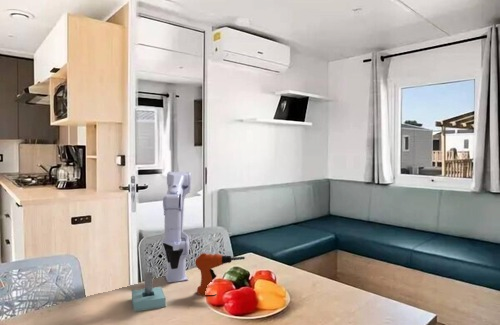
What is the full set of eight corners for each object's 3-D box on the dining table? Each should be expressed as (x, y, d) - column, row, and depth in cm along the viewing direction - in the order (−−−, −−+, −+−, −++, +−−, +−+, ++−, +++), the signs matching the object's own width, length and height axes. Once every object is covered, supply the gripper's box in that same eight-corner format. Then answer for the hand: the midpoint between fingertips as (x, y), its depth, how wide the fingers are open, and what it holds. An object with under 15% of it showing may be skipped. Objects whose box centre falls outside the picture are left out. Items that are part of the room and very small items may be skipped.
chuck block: (131, 298, 122) (131, 290, 122) (161, 294, 126) (161, 286, 126) (133, 311, 113) (133, 302, 113) (165, 306, 117) (165, 297, 117)
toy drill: (248, 293, 125) (243, 251, 124) (196, 297, 126) (191, 256, 126) (249, 288, 130) (244, 247, 129) (199, 292, 131) (194, 252, 131)
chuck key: (144, 304, 118) (144, 275, 118) (144, 301, 121) (144, 272, 121) (152, 303, 119) (152, 274, 118) (152, 300, 121) (152, 271, 121)
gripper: (158, 224, 132) (158, 260, 132) (164, 232, 118) (164, 272, 119) (177, 223, 134) (177, 258, 135) (185, 231, 121) (185, 270, 121)
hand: (172, 265), depth 127 cm, fingers open, 7 cm apart
